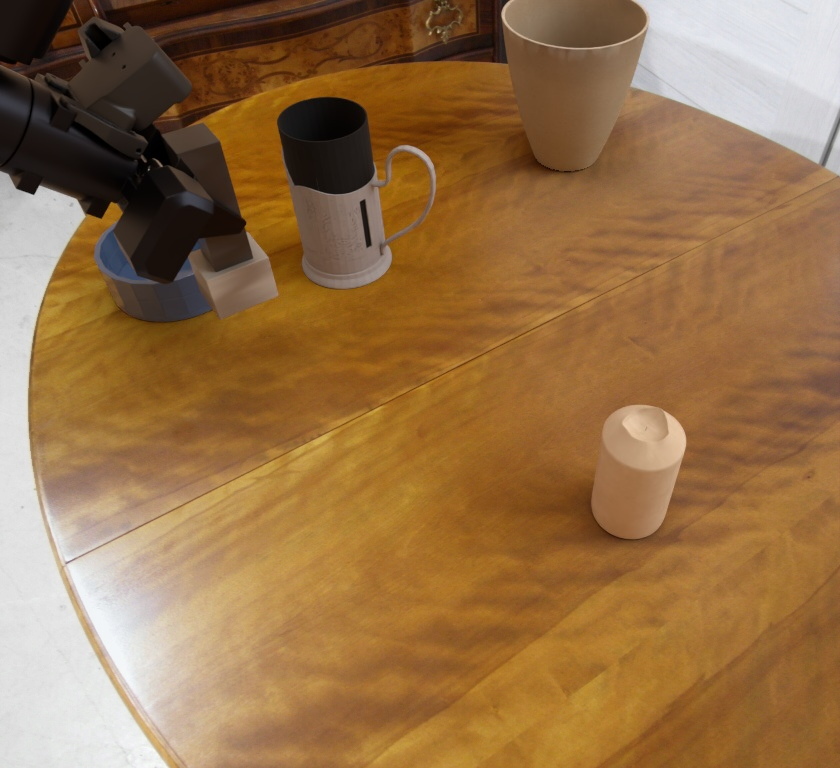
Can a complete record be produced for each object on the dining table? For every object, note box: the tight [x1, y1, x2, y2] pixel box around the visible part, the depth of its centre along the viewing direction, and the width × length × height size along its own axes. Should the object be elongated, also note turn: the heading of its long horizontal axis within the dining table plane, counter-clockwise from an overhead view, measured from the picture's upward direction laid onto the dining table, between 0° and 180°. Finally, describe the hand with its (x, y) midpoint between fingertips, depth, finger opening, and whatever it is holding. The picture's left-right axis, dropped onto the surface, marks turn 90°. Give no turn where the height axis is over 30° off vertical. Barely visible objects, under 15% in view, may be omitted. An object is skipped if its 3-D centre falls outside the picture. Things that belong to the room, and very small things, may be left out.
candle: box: [590, 404, 687, 540], centre depth 53 cm, size 6×6×10 cm
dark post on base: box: [161, 122, 280, 321], centre depth 58 cm, size 5×4×14 cm
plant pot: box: [500, 0, 651, 172], centre depth 84 cm, size 15×15×16 cm
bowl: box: [93, 219, 213, 323], centre depth 72 cm, size 12×12×4 cm
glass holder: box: [276, 96, 437, 290], centre depth 70 cm, size 9×14×15 cm, turn 73°
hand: (234, 216), depth 58 cm, fingers closed on dark post on base, 3 cm apart
